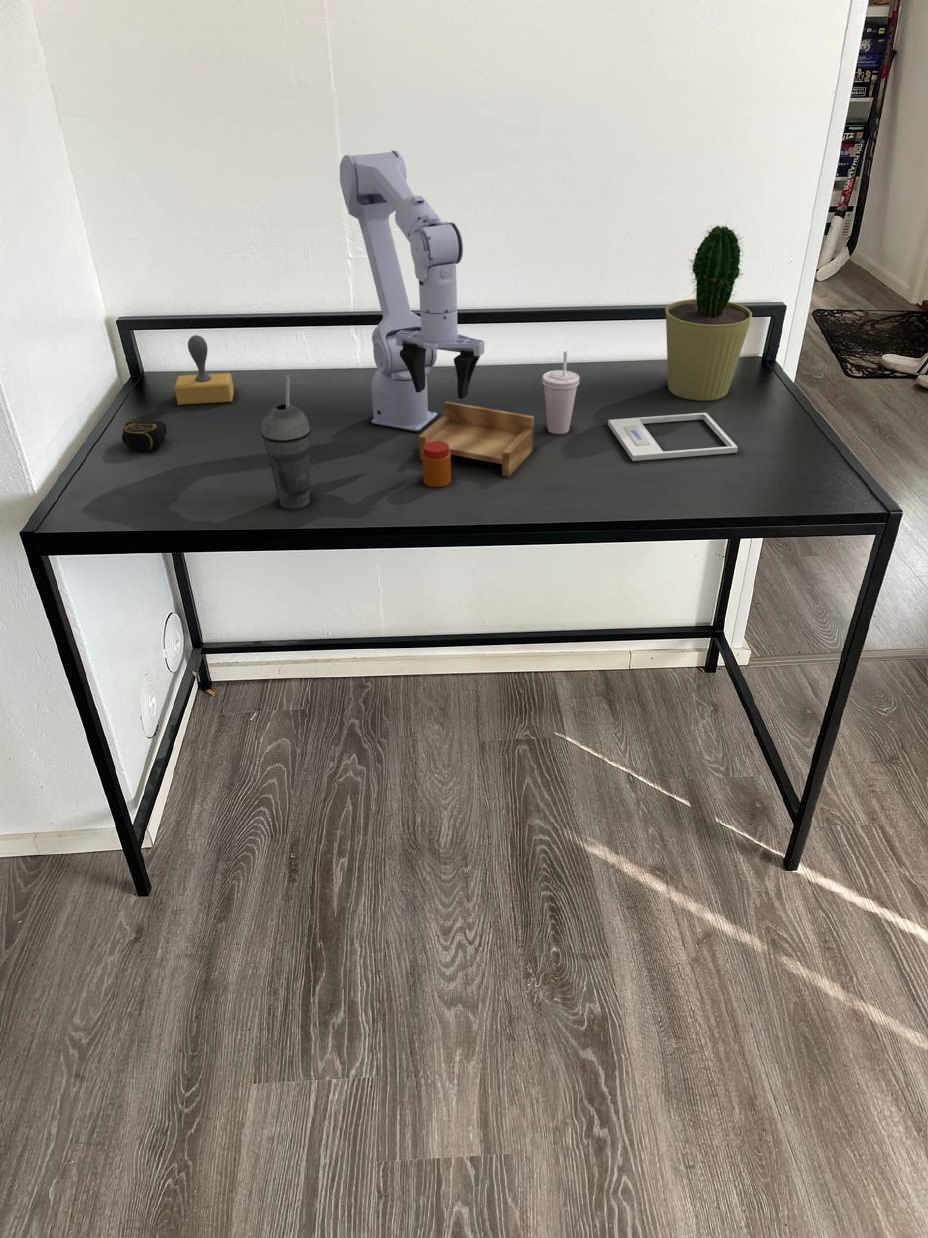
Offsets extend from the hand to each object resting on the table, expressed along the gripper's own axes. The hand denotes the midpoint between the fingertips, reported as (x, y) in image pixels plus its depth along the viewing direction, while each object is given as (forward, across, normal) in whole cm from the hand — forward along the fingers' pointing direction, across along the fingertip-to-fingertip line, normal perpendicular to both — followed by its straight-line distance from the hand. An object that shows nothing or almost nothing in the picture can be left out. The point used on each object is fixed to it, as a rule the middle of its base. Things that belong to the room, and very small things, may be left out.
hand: (441, 393), depth 153 cm
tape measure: (+10, -49, -18) cm, 53 cm away
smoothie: (+11, +14, +16) cm, 24 cm away
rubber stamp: (+10, -52, +4) cm, 53 cm away
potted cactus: (+10, +32, +44) cm, 56 cm away
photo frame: (+11, +33, +20) cm, 41 cm away
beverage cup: (+11, -14, -24) cm, 30 cm away
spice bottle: (+11, +4, -10) cm, 15 cm away
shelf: (+10, +5, +2) cm, 12 cm away
